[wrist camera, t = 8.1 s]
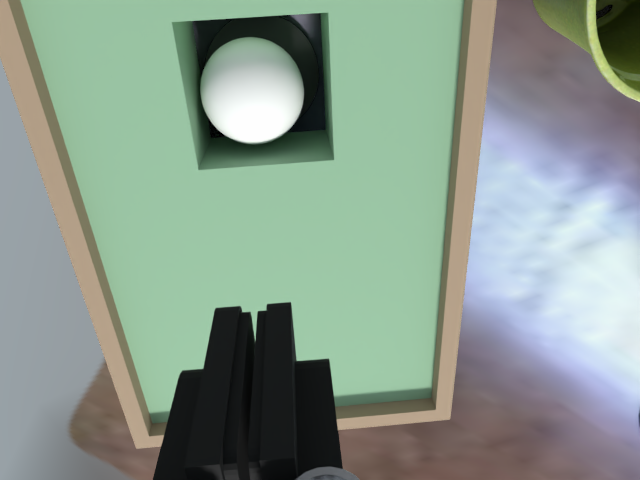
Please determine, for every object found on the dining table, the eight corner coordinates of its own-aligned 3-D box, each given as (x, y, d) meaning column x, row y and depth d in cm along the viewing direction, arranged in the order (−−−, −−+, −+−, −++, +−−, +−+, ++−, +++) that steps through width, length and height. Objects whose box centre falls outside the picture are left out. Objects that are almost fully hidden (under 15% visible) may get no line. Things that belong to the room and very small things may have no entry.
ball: (316, 79, 21) (308, 161, 25) (298, 14, 24) (293, 98, 28) (196, 84, 20) (208, 168, 24) (192, 16, 23) (203, 102, 27)
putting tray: (457, -93, 24) (508, -108, 18) (426, 355, 37) (450, 419, 32) (28, -69, 23) (-48, -79, 18) (156, 379, 36) (136, 448, 31)
